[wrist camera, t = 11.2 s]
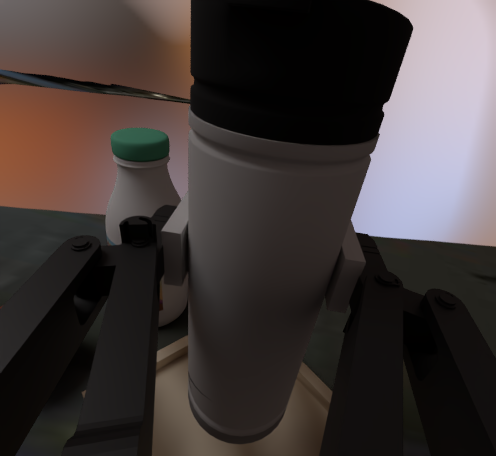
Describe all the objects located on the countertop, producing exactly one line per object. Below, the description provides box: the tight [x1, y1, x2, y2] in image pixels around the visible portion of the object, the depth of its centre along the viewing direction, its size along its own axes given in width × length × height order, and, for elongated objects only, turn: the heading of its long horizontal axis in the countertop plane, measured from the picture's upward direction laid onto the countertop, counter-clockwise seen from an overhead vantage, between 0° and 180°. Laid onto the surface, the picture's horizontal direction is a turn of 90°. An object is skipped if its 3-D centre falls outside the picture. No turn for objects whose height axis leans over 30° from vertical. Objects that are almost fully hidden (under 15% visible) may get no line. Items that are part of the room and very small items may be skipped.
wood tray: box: [82, 335, 332, 456], centre depth 24 cm, size 17×17×2 cm
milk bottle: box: [106, 128, 188, 327], centre depth 30 cm, size 8×8×20 cm
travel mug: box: [188, 0, 413, 444], centre depth 13 cm, size 6×7×20 cm
